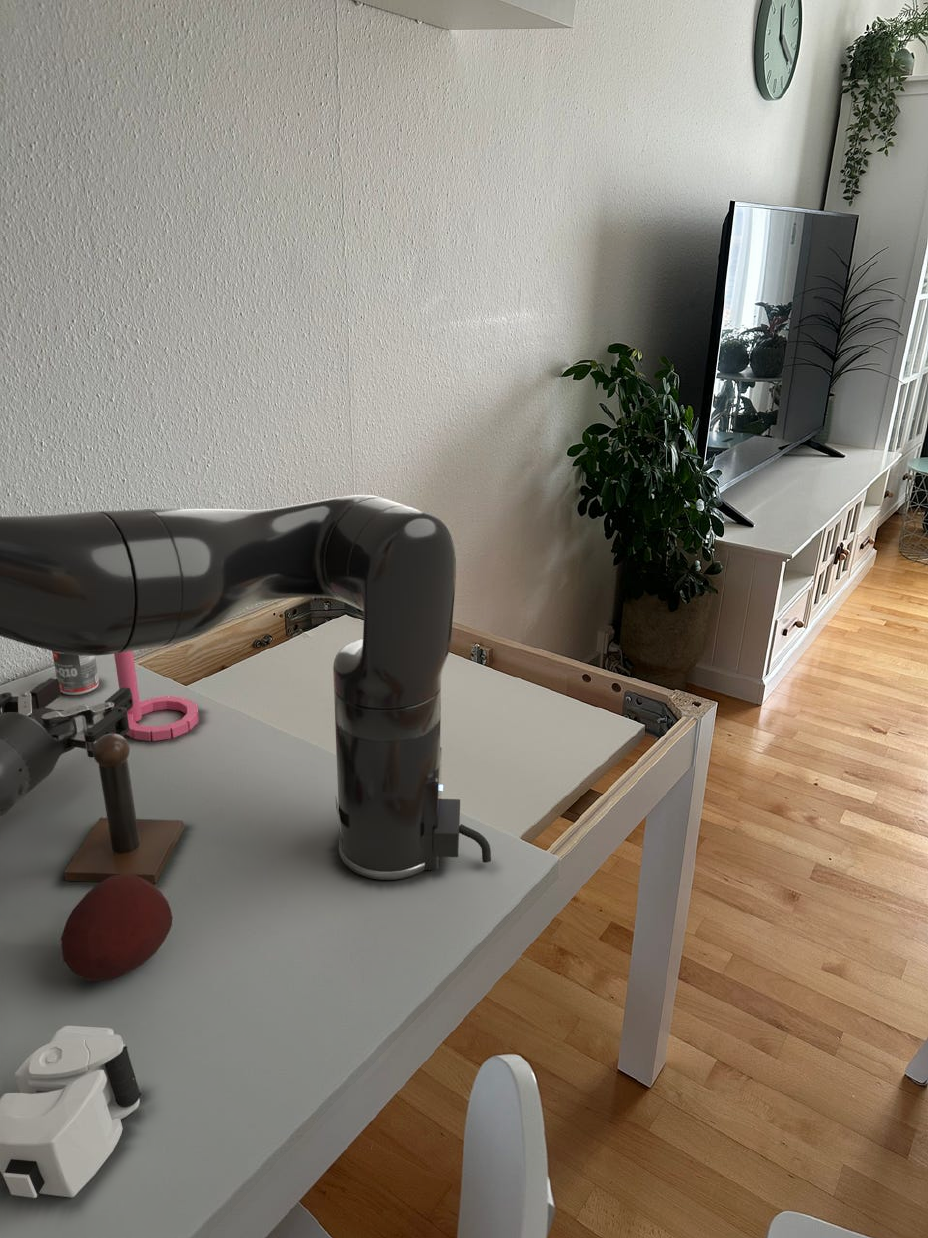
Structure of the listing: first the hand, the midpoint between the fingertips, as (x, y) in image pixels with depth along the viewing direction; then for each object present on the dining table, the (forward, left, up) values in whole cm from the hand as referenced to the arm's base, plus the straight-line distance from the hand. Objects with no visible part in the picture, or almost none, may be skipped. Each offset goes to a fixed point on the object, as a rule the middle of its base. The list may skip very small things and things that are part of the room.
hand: (92, 690), depth 96 cm
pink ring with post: (-5, -6, -7) cm, 10 cm away
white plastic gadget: (-17, +41, -4) cm, 44 cm away
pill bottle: (+8, -14, -7) cm, 18 cm away
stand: (-10, +18, -7) cm, 22 cm away
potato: (-15, +31, -7) cm, 36 cm away
